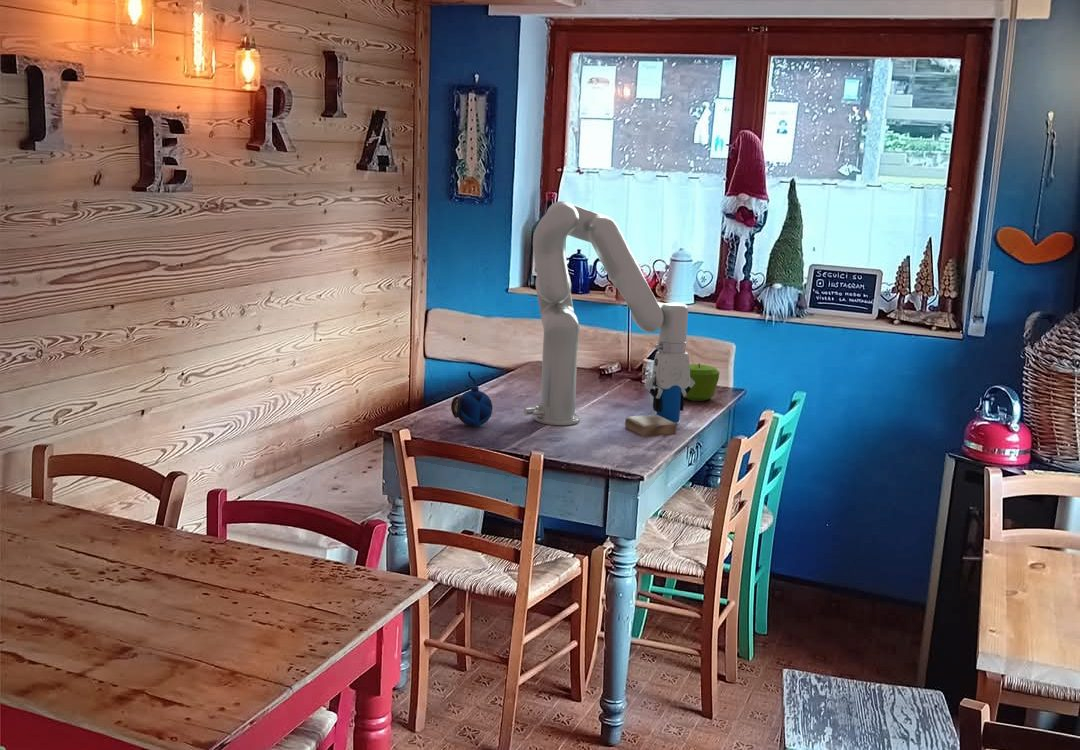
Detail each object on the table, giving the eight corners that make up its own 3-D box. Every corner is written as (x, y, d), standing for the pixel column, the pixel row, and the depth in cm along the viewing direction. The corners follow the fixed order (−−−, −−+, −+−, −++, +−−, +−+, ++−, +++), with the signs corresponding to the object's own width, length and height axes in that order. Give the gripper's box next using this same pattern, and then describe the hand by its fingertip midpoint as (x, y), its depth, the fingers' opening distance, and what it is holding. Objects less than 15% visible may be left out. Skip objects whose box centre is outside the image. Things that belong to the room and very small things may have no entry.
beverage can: (678, 420, 309) (681, 379, 307) (679, 426, 303) (682, 384, 300) (655, 419, 310) (658, 378, 307) (655, 424, 303) (658, 382, 301)
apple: (724, 402, 334) (727, 366, 332) (689, 404, 330) (692, 367, 328) (704, 393, 346) (706, 358, 344) (670, 395, 341) (672, 359, 339)
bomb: (447, 422, 297) (448, 368, 294) (485, 420, 301) (487, 367, 298) (457, 431, 288) (458, 376, 285) (496, 429, 292) (498, 374, 289)
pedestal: (643, 436, 291) (643, 425, 290) (625, 427, 300) (625, 416, 299) (675, 433, 295) (676, 422, 294) (656, 424, 304) (657, 414, 303)
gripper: (651, 351, 295) (647, 415, 299) (706, 348, 302) (701, 411, 306) (638, 346, 302) (634, 409, 305) (691, 344, 309) (687, 405, 312)
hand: (668, 410), depth 306 cm, fingers closed on beverage can, 6 cm apart
